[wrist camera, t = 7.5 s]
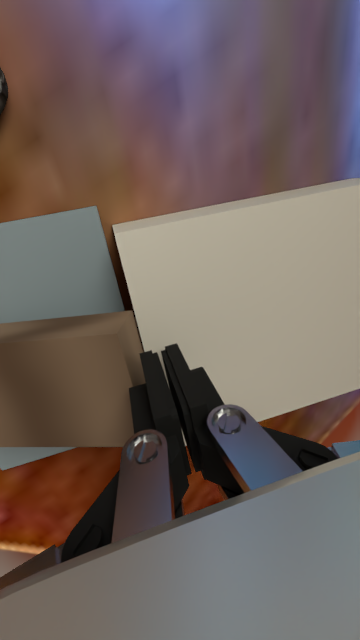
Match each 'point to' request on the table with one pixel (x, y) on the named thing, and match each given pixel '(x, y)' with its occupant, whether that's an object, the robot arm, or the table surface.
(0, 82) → the phone
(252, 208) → the riser
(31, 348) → the walnut tile
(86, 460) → the table surface
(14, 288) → the mat
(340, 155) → the table surface
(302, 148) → the table surface
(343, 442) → the robot arm
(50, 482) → the table surface
